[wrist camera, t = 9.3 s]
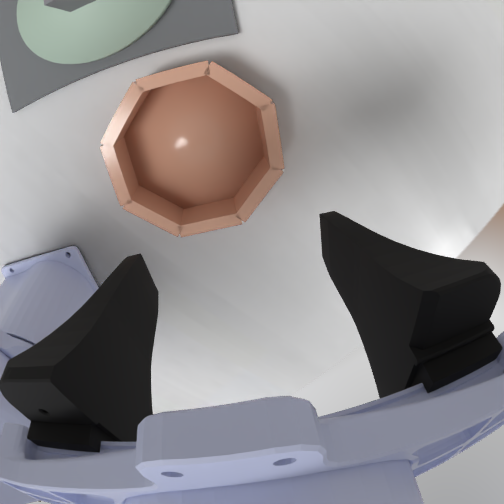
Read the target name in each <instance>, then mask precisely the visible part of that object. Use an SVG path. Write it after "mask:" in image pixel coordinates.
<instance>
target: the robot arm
mask: <svg viewBox="0 0 504 504" xmlns="http://www.w3.org/2000/svg"><path fill="white" fill-rule="evenodd" d="M319 215H320V228H321V242H322V257H323V259H324V262H325V265H326V267H327V270H328V272H329V275H330V277H331V279H332V281H333V283H334V285H335V286H336V288H337V290H338V292H339V294H340V296H341V297H342V299H343V301H344V303H345V305H346V306H347V308H348V310H349V312H350V314H351V316H352V318H353V320H354V322H355V324H356V326H357V329H358V332H359V334H360V337H361V340H362V342H363V345H364V348H365V351H366V353H367V357H368V360H369V363H370V366H371V369H372V372H373V375H374V379H375V382H376V385H377V389H378V393H379V397H380V399H378V400H374V401H371V402H368V403H365V404H362V405H359V406H356V407H352V408H349V409H346V410H342V411H339V412H335V413H332V414H328V415H324V416H321V417H318V416H317V413H316V409H315V408H314V407H313V405H312V404H311V403H310V402H309V401H308V400H305V399H301V398H296V397H292V396H278V397H266V398H261V399H255V400H250V401H244V402H238V403H232V404H226V405H219V406H212V407H205V408H197V409H188V410H179V411H168V412H162V413H158V414H153V412H152V398H151V360H152V351H153V344H154V337H155V331H156V324H157V317H158V290H157V288H156V286H155V284H154V282H153V279H152V277H151V275H150V273H149V271H148V268H147V266H146V264H145V262H144V259H143V257H142V255H141V254H137V255H133V256H128V257H127V258H126V259H124V260H123V261H122V262H121V264H120V265H119V266H118V267H117V268H116V269H115V270H114V271H113V272H112V274H111V275H110V276H109V277H108V278H107V279H106V280H105V282H104V283H103V284H102V285H101V286H100V287H98V285H97V283H96V282H95V280H94V278H93V276H92V274H91V272H90V270H89V269H88V267H87V265H86V263H85V261H84V259H83V257H82V255H81V253H80V251H79V249H78V248H77V247H75V246H70V247H66V248H63V249H59V250H56V251H52V252H49V253H45V254H42V255H39V256H35V257H32V258H29V259H25V260H22V261H19V262H16V263H12V264H9V265H6V266H4V267H3V268H2V270H1V271H2V274H3V275H4V277H5V280H4V281H3V283H2V284H1V286H0V504H26V503H31V502H36V501H44V502H48V503H51V504H424V502H423V499H422V497H421V493H420V491H419V488H418V485H417V482H416V479H415V477H416V476H418V475H420V474H422V473H424V472H426V471H428V470H430V469H432V468H434V467H436V466H438V465H440V464H442V463H444V462H445V461H447V460H449V459H451V458H453V457H454V456H456V455H457V454H459V453H461V452H463V451H464V450H466V449H468V448H469V447H471V446H472V445H474V444H476V443H477V442H479V441H480V440H482V439H483V438H485V437H486V436H488V435H489V434H491V433H492V432H494V431H495V430H497V429H498V428H500V427H501V426H502V425H504V332H503V333H501V334H500V335H499V336H498V337H497V338H496V337H495V336H494V334H493V333H492V331H493V330H494V325H493V324H492V322H491V321H490V320H489V319H490V317H491V315H492V312H493V310H494V308H495V305H496V302H497V301H498V298H499V294H500V287H501V283H500V279H499V278H498V276H497V275H496V274H495V273H494V272H493V271H492V270H491V269H490V268H489V267H488V266H487V265H486V264H485V263H484V262H478V261H470V260H461V259H455V258H450V257H444V256H440V255H435V254H432V253H428V252H424V251H421V250H417V249H414V248H411V247H409V246H406V245H403V244H400V243H398V242H395V241H393V240H390V239H388V238H386V237H384V236H382V235H380V234H377V233H375V232H373V231H371V230H369V229H367V228H366V227H364V226H362V225H360V224H358V223H356V222H354V221H353V220H351V219H349V218H347V217H345V216H343V215H341V214H339V213H337V212H335V211H332V212H327V213H322V214H319ZM67 252H69V253H70V254H71V255H69V254H68V253H67ZM12 269H13V270H12Z"/></svg>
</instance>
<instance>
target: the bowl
mask: <svg viewBox="0 0 504 504" xmlns="http://www.w3.org/2000/svg"><path fill="white" fill-rule="evenodd" d="M100 143H101V144H103V145H101V146H100V149H101V152H102V155H103V158H104V161H105V164H106V167H107V170H108V173H109V176H110V179H111V181H112V184H113V187H114V190H115V193H116V195H117V198H118V201H119V203H120V206H123V205H124V207H123V209H124V210H126V211H128V212H130V213H132V214H134V215H136V216H138V217H140V218H142V219H144V220H146V221H147V222H149V223H151V224H153V225H155V226H157V227H159V228H161V229H163V230H165V231H167V232H169V233H171V234H173V235H175V236H177V237H178V236H179V234H180V235H181V237H185V236H190V235H194V234H199V233H203V232H208V231H213V230H217V229H222V228H227V227H231V226H236V225H241V224H242V221H244V222H246V221H247V219H248V218H249V217H250V215H251V214H252V213H253V211H254V210H255V209H256V207H257V206H258V205H259V203H260V202H261V201H262V200H263V198H264V197H265V196H266V194H267V193H268V192H269V190H270V189H271V188H272V186H273V185H274V184H275V183H276V181H277V180H278V179H279V177H280V176H281V175H282V173H283V171H282V169H284V161H283V154H282V147H281V140H280V134H279V127H278V121H277V114H276V108H275V103H273V102H272V99H270V98H269V97H268V96H266V95H265V94H263V93H262V92H260V91H259V90H257V89H256V88H254V87H253V86H251V85H250V84H248V83H247V82H245V81H243V80H242V79H240V78H239V77H237V76H236V75H234V74H232V73H231V72H229V71H228V70H226V69H224V68H223V67H221V66H219V65H218V64H216V63H214V62H213V61H212V62H211V63H210V64H209V62H208V60H207V61H203V62H198V63H194V64H190V65H186V66H181V67H178V68H174V69H170V70H166V71H163V72H159V73H156V74H152V75H149V76H146V77H142V78H139V79H136V82H132V84H131V86H130V87H129V89H128V91H127V92H126V94H125V96H124V98H123V100H122V101H121V103H120V105H119V107H118V109H117V111H116V112H115V114H114V116H113V118H112V120H111V122H110V124H109V126H108V128H107V130H106V132H105V134H104V136H103V138H102V140H101V142H100ZM241 220H242V221H241Z"/></svg>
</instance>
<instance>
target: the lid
mask: <svg viewBox="0 0 504 504" xmlns="http://www.w3.org/2000/svg"><path fill="white" fill-rule="evenodd" d="M171 1H172V0H18V3H17V24H18V28H19V32H20V34H21V37H22V39H23V40H24V42H25V44H26V45H27V46H28V47H29V48H30V50H31V51H32V52H34V53H35V54H36V55H38V56H39V57H41V58H43V59H45V60H48V61H51V62H54V63H60V64H80V63H89V62H93V61H98V60H101V59H104V58H107V57H109V56H111V55H114V54H116V53H118V52H120V51H122V50H123V49H125V48H127V47H129V46H130V45H132V44H133V43H134V42H136V41H137V40H139V39H140V38H141V37H142V36H143V35H145V34H146V33H147V32H148V31H149V30H150V29H151V28H152V27H153V26H154V25H155V24H156V23H157V22H158V20H159V19H160V18H161V17H162V15H163V14H164V13H165V11H166V9H167V8H168V6H169V5H170V3H171Z"/></svg>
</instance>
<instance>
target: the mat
mask: <svg viewBox="0 0 504 504" xmlns="http://www.w3.org/2000/svg"><path fill="white" fill-rule="evenodd" d="M17 3H18V0H0V61H1V66H2V71H3V76H4V81H5V85H6V89H7V94H8V98H9V102H10V105H11V109H12V113H14V112H17V111H18V110H20V109H22V108H24V107H25V106H27V105H29V104H31V103H33V102H34V101H36V100H38V99H40V98H42V97H44V96H46V95H48V94H50V93H52V92H54V91H56V90H58V89H60V88H62V87H65V86H67V85H69V84H71V83H73V82H76V81H78V80H80V79H82V78H85V77H87V76H90V75H92V74H95V73H97V72H100V71H102V70H105V69H107V68H110V67H113V66H115V65H118V64H121V63H124V62H127V61H130V60H133V59H136V58H139V57H142V56H145V55H148V54H152V53H155V52H159V51H162V50H166V49H169V48H173V47H177V46H181V45H185V44H189V43H193V42H198V41H202V40H207V39H212V38H217V37H223V36H228V35H234V34H238V30H237V25H236V20H235V15H234V10H233V5H232V0H172V1H171V3H170V5H169V6H168V8H167V9H166V11H165V13H164V14H163V15H162V17H161V18H160V19H159V20H158V22H157V23H156V24H155V25H154V26H153V27H152V28H151V29H150V30H149V31H148V32H147V33H146V34H145V35H143V36H142V37H141V38H140V39H139V40H137V41H136V42H134V43H133V44H132V45H130V46H129V47H127V48H125V49H123V50H122V51H120V52H118V53H116V54H114V55H111V56H109V57H107V58H104V59H101V60H98V61H93V62H89V63H80V64H60V63H54V62H51V61H48V60H45V59H43V58H41V57H39V56H38V55H36V54H35V53H34V52H32V51H31V50H30V48H29V47H28V46H27V45H26V44H25V42H24V40H23V39H22V37H21V34H20V32H19V28H18V24H17Z"/></svg>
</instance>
